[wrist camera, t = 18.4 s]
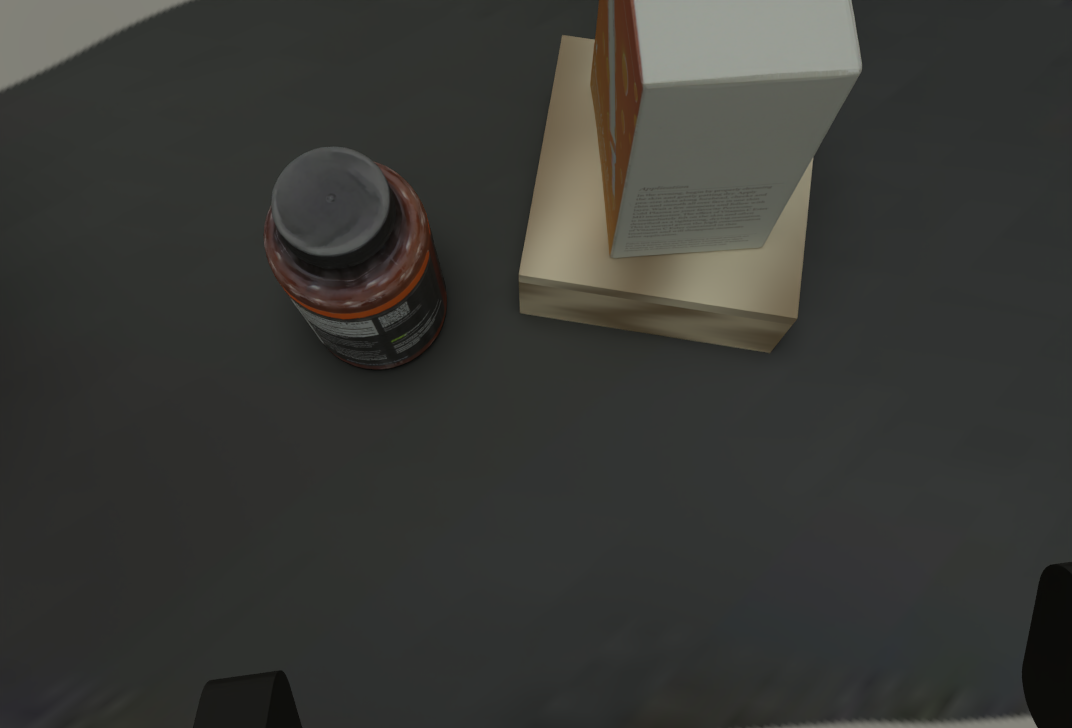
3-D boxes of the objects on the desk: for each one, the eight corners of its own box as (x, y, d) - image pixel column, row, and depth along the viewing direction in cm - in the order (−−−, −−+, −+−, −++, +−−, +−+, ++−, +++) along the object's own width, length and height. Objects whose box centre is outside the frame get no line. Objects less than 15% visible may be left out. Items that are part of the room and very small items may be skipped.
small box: (587, 83, 42) (610, -158, 30) (737, 73, 42) (825, -171, 30) (606, 264, 40) (640, 85, 27) (765, 252, 40) (871, 69, 28)
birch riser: (520, 315, 45) (518, 274, 40) (559, 97, 48) (562, 34, 43) (768, 355, 44) (797, 318, 39) (791, 132, 47) (821, 73, 42)
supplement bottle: (355, 223, 45) (300, 88, 34) (472, 280, 45) (453, 160, 34) (286, 337, 44) (206, 232, 33) (406, 397, 43) (365, 311, 32)
